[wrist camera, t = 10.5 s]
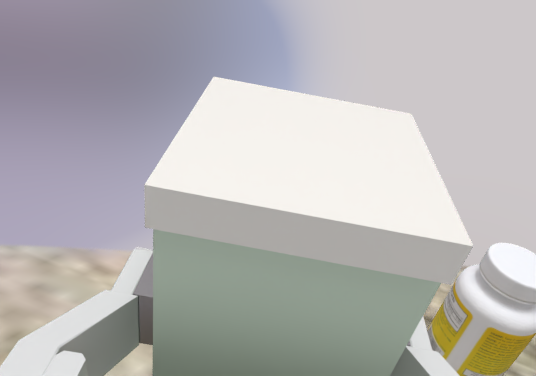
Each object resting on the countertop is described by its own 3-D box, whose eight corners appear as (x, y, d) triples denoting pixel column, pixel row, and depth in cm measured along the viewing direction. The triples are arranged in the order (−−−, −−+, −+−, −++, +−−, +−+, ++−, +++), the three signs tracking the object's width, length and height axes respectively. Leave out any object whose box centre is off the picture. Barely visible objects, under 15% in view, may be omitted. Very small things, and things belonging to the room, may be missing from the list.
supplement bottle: (507, 368, 31) (583, 275, 25) (474, 412, 28) (553, 315, 22) (442, 317, 34) (498, 225, 29) (405, 351, 31) (461, 254, 25)
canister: (314, 524, 12) (473, 245, 6) (147, 493, 12) (144, 185, 6) (315, 370, 16) (411, 113, 10) (190, 347, 16) (213, 76, 10)
